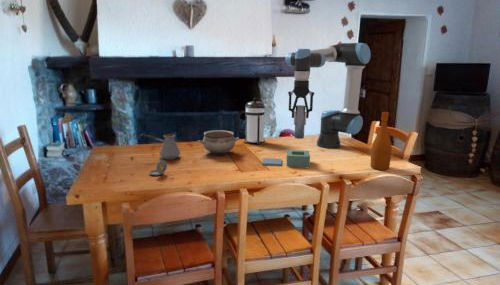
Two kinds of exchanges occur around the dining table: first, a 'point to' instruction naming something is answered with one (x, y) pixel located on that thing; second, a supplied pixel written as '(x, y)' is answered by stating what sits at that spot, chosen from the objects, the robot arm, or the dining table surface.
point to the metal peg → (299, 121)
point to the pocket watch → (159, 167)
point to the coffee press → (253, 122)
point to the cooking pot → (218, 141)
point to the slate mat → (271, 161)
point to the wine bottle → (381, 146)
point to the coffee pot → (167, 146)
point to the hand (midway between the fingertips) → (299, 124)
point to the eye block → (298, 158)
